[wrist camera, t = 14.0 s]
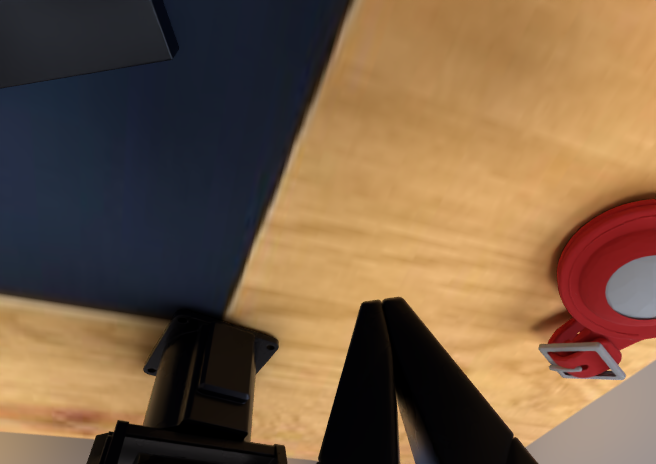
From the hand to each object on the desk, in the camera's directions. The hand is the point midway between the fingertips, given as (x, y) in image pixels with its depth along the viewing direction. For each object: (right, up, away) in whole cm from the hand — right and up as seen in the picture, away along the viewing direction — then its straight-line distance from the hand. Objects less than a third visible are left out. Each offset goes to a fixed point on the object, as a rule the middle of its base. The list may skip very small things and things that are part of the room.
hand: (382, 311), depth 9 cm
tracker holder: (+15, -1, +16) cm, 22 cm away
